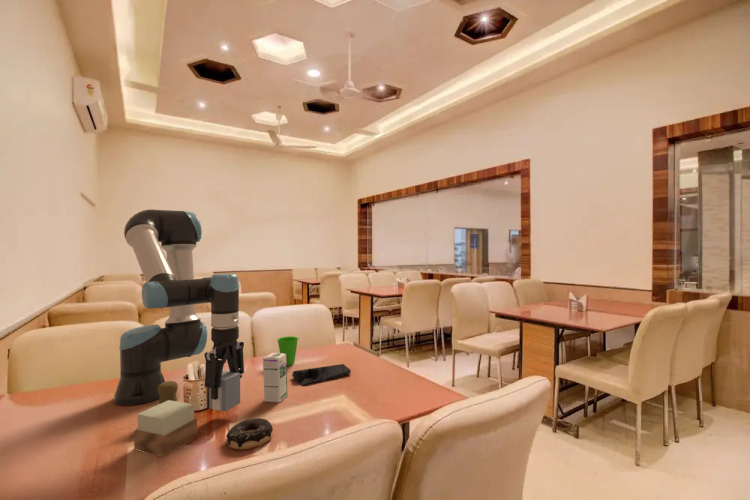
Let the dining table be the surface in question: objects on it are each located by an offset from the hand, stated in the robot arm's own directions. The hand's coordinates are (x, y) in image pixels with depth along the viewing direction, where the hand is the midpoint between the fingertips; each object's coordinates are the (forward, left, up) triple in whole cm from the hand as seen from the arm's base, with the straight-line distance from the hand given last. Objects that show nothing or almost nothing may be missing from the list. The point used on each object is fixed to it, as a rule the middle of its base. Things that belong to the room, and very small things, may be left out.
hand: (225, 404), depth 109 cm
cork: (-15, -6, -4) cm, 17 cm away
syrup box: (+6, +17, -4) cm, 18 cm away
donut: (+15, -8, -4) cm, 18 cm away
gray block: (0, 0, 0) cm, 0 cm away
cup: (-11, +50, -4) cm, 51 cm away
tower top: (-4, -16, +1) cm, 17 cm away
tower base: (-4, -16, -4) cm, 17 cm away
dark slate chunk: (+9, +42, -5) cm, 43 cm away
